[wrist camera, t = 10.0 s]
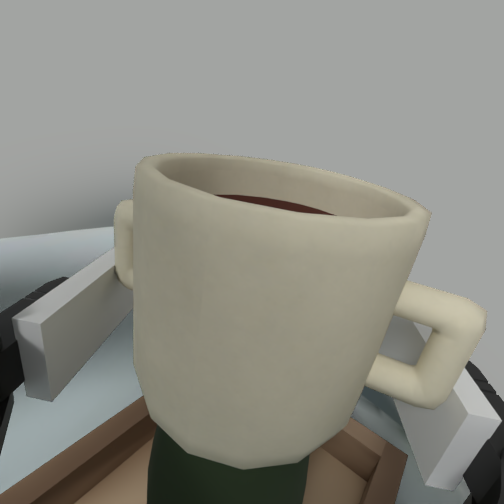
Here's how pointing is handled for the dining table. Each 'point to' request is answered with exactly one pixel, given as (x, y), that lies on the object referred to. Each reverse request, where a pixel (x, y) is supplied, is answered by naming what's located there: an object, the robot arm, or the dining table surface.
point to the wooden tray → (138, 455)
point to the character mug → (271, 317)
